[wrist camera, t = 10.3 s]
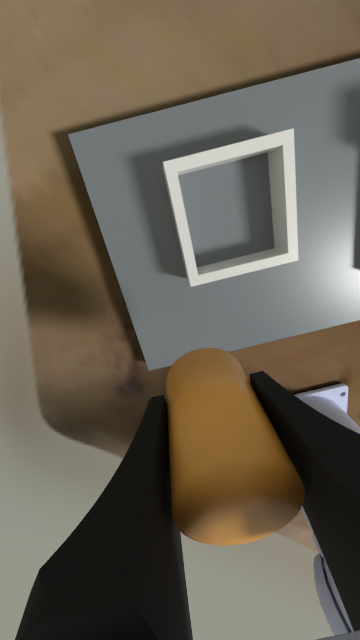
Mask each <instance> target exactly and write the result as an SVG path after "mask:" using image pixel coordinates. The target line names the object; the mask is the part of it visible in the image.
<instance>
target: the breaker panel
mask: <svg viewBox="0 0 360 640" xmlns="http://www.w3.org/2000/svg"><path fill="white" fill-rule="evenodd" d="M68 136H69V139H70V142H71V145H72V148H73V151H74V154H75V157H76V159H77V162H78V165H79V168H80V171H81V174H82V177H83V180H84V183H85V186H86V189H87V192H88V194H89V197H90V200H91V203H92V206H93V209H94V212H95V215H96V218H97V221H98V224H99V227H100V229H101V232H102V235H103V238H104V241H105V244H106V247H107V250H108V253H109V256H110V259H111V262H112V264H113V267H114V270H115V273H116V276H117V279H118V282H119V285H120V288H121V291H122V294H123V297H124V299H125V302H126V305H127V308H128V311H129V314H130V317H131V320H132V323H133V326H134V329H135V332H136V335H137V337H138V340H139V343H140V346H141V349H142V352H143V355H144V358H145V361H146V364H147V367H148V370H149V371H151V370H155V369H159V368H163V367H167V366H171V365H173V364H174V362H175V361H176V360H177V359H178V358H180V357H181V356H183V355H184V354H186V353H188V352H190V351H193V350H196V349H200V348H217V349H221V350H224V351H226V352H229V351H233V350H238V349H242V348H246V347H250V346H254V345H258V344H262V343H267V342H271V341H275V340H279V339H283V338H287V337H291V336H295V335H300V334H304V333H308V332H312V331H316V330H320V329H324V328H329V327H333V326H337V325H341V324H345V323H349V322H353V321H357V320H360V58H358V59H354V60H351V61H347V62H343V63H339V64H335V65H331V66H328V67H324V68H320V69H316V70H312V71H309V72H305V73H301V74H297V75H293V76H289V77H286V78H282V79H278V80H274V81H270V82H266V83H263V84H259V85H255V86H251V87H247V88H244V89H240V90H236V91H232V92H228V93H224V94H221V95H217V96H213V97H209V98H205V99H202V100H198V101H194V102H190V103H186V104H182V105H179V106H175V107H171V108H167V109H163V110H159V111H156V112H152V113H148V114H144V115H140V116H137V117H133V118H129V119H125V120H121V121H117V122H114V123H110V124H106V125H102V126H98V127H95V128H91V129H87V130H83V131H79V132H75V133H72V134H68Z"/></svg>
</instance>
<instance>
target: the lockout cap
mask: <svg viewBox="0 0 360 640" xmlns="http://www.w3.org/2000/svg"><path fill="white" fill-rule="evenodd" d="M166 394H167V415H168V436H169V458H170V479H171V500H172V517H173V521H174V523H175V525H176V527H177V528H178V529H179V530H180V531H181V532H182V533H183V534H184V535H186V536H187V537H189V538H191V539H193V540H195V541H198V542H201V543H206V544H211V545H236V544H243V543H248V542H252V541H255V540H258V539H261V538H264V537H266V536H268V535H270V534H272V533H274V532H276V531H278V530H279V529H281V528H283V527H284V526H285V525H287V524H288V523H289V522H290V521H291V520H292V519H293V518H294V517H295V516H296V515H297V513H298V512H299V510H300V509H301V507H302V505H303V502H304V498H305V488H304V485H303V482H302V480H301V478H300V476H299V475H298V473H297V471H296V469H295V467H294V465H293V463H292V461H291V459H290V457H289V456H288V454H287V452H286V450H285V448H284V446H283V444H282V442H281V440H280V439H279V437H278V435H277V433H276V431H275V429H274V427H273V425H272V423H271V421H270V420H269V418H268V416H267V414H266V412H265V410H264V408H263V406H262V404H261V402H260V401H259V399H258V397H257V395H256V393H255V391H254V389H253V387H252V385H251V383H250V382H249V380H248V378H247V376H246V374H245V372H244V370H243V368H242V366H241V365H240V363H239V361H238V360H237V359H236V358H235V357H234V356H233V355H231V354H230V353H228V352H226V351H224V350H221V349H217V348H200V349H196V350H193V351H190V352H188V353H186V354H184V355H183V356H181V357H180V358H178V359H177V360H176V361H175V362H174V364H173V365H172V366H171V368H170V369H169V372H168V374H167V378H166Z"/></svg>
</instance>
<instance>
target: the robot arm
mask: <svg viewBox="0 0 360 640" xmlns="http://www.w3.org/2000/svg"><path fill="white" fill-rule="evenodd" d="M250 381H251V385H252V387H253V389H254V391H255V393H256V395H257V397H258V399H259V401H260V402H261V404H262V406H263V408H264V410H265V412H266V414H267V416H268V418H269V420H270V421H271V423H272V425H273V427H274V429H275V431H276V433H277V435H278V437H279V439H280V440H281V442H282V444H283V446H284V448H285V450H286V452H287V454H288V456H289V457H290V459H291V461H292V463H293V465H294V467H295V469H296V471H297V473H298V475H299V476H300V478H301V480H302V482H303V485H304V488H305V498H304V502H303V505H302V507H301V510H302V512H303V514H304V516H305V518H306V521H307V523H308V524H309V526H310V528H311V529H312V531H313V532H314V535H313V536H312V537H313V539H314V541H315V543H316V546H317V548H318V550H319V552H320V553H319V554H317V555H316V556H315V558H314V580H315V586H316V591H317V594H318V597H319V600H320V603H321V606H322V609H323V611H324V614H325V616H326V619H327V621H328V623H329V625H330V628H331V630H332V632H333V634H334V636H331V637H326V638H321V639H317V640H360V428H359V427H358V425H357V424H356V423H355V422H354V421H353V420H352V419H351V418H350V417H349V416H348V415H347V400H348V387H347V386H346V385H345V384H343V383H342V384H337V385H333V386H329V387H325V388H320V389H316V390H312V391H308V392H304V393H299V394H295V395H293V394H292V393H291V392H289V391H288V390H286V389H285V388H284V387H283V386H281V385H280V384H279V383H277V382H276V381H275V380H274V379H272V378H271V377H270V376H269V375H267V374H266V373H265V372H263V371H261V372H257V373H253V374H250ZM15 640H193V637H192V629H191V621H190V613H189V605H188V597H187V589H186V580H185V572H184V562H183V554H182V544H181V535H180V530H179V529H178V528H177V527H176V525H175V523H174V521H173V517H172V500H171V479H170V458H169V436H168V415H167V404H166V401H165V398H164V395H161V396H157V397H152V398H150V400H149V402H148V405H147V408H146V410H145V413H144V416H143V418H142V421H141V423H140V425H139V428H138V430H137V432H136V434H135V437H134V439H133V441H132V443H131V445H130V447H129V449H128V451H127V453H126V455H125V456H124V458H123V460H122V462H121V464H120V465H119V467H118V469H117V471H116V472H115V474H114V476H113V477H112V479H111V480H110V482H109V483H108V485H107V487H106V488H105V489H104V491H103V492H102V494H101V495H100V497H99V498H98V500H97V501H96V503H95V504H94V506H93V507H92V508H91V509H90V511H89V512H88V513H87V514H86V516H85V517H84V518H83V520H82V521H81V522H80V524H79V525H78V526H77V527H76V529H75V530H74V531H73V532H72V534H71V535H70V536H69V537H68V538H67V539H66V541H65V542H64V543H63V544H62V545H61V546H60V547H59V548H58V550H57V551H56V552H55V553H54V554H53V555H52V556H51V557H50V559H49V560H48V561H47V562H46V563H45V564H44V565H43V566H42V567H41V568H40V570H39V572H38V575H37V577H36V580H35V582H34V585H33V587H32V590H31V593H30V595H29V598H28V601H27V605H26V608H25V611H24V614H23V617H22V620H21V623H20V626H19V629H18V632H17V635H16V638H15Z"/></svg>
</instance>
